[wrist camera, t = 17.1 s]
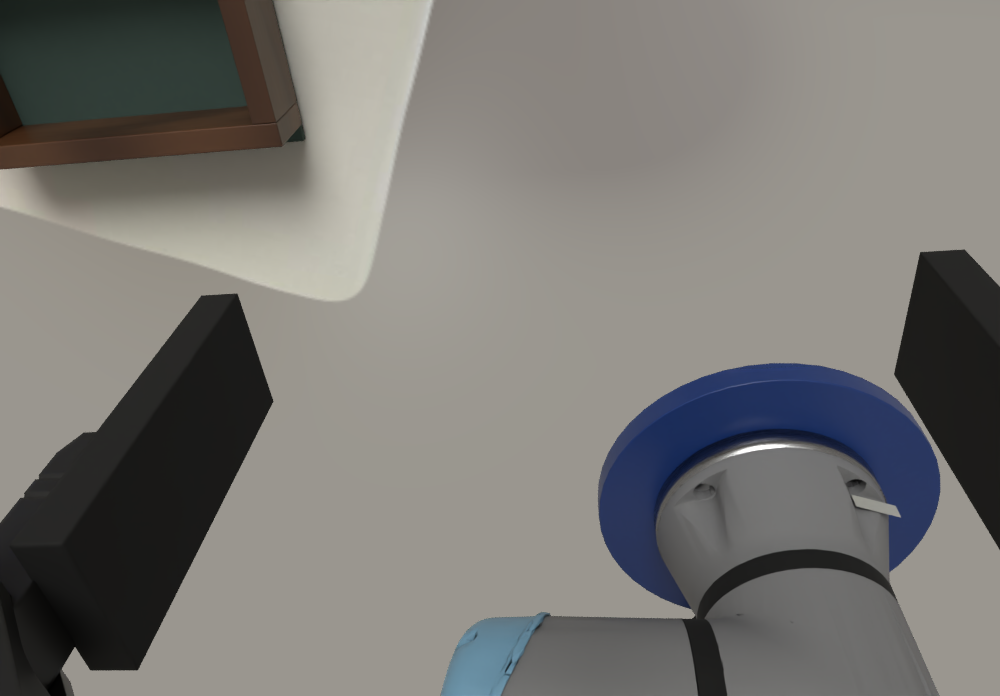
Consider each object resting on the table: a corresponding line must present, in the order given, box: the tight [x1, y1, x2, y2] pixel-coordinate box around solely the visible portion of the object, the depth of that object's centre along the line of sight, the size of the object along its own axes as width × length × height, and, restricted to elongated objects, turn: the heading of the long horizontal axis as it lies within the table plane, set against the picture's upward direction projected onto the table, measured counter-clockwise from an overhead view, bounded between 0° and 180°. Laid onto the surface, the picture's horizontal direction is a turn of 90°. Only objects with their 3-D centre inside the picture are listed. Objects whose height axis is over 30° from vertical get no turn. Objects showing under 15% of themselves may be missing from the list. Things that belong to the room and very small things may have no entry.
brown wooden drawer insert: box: [0, 0, 302, 169], centre depth 37 cm, size 16×10×4 cm, turn 96°
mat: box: [0, 0, 305, 142], centre depth 39 cm, size 12×16×1 cm
